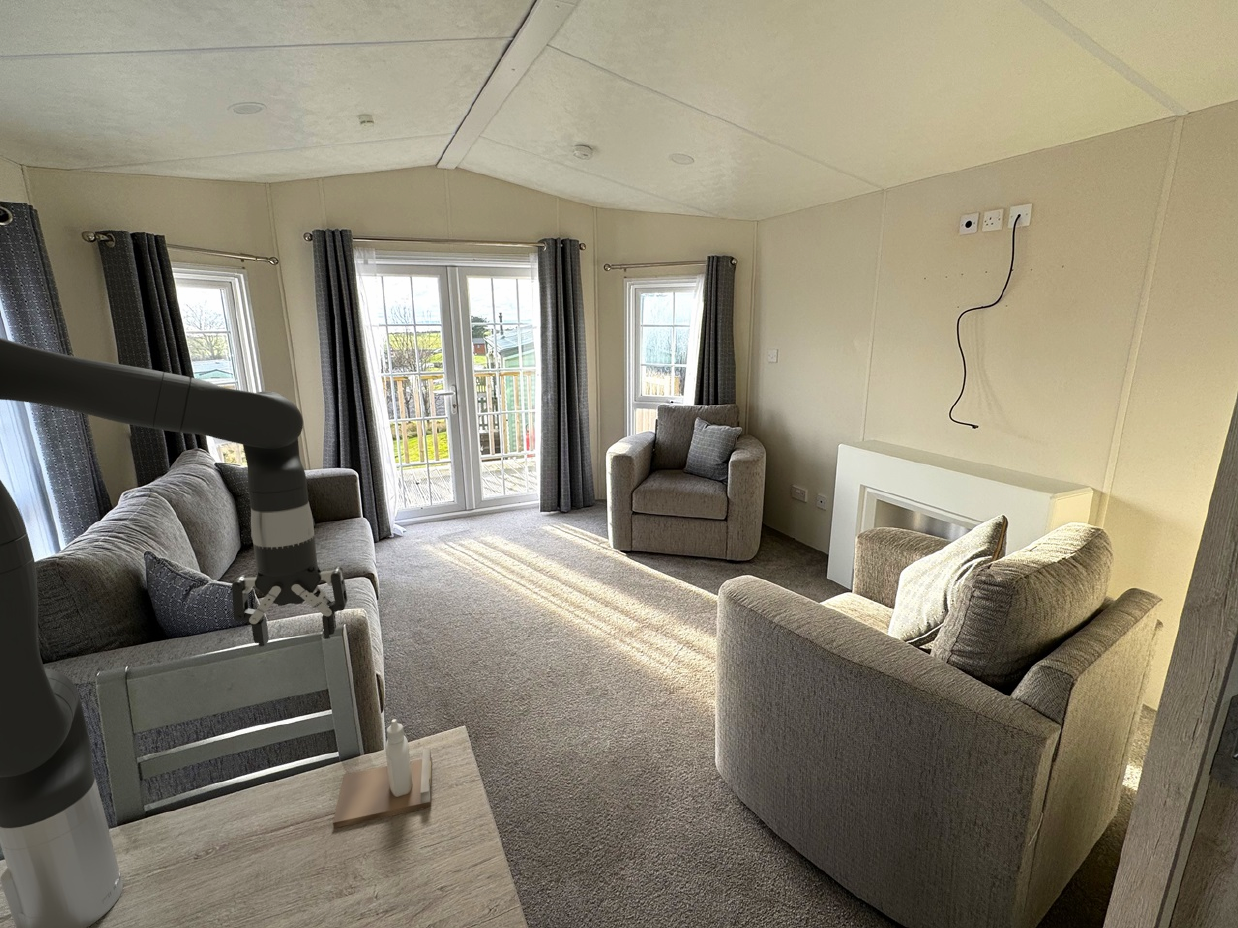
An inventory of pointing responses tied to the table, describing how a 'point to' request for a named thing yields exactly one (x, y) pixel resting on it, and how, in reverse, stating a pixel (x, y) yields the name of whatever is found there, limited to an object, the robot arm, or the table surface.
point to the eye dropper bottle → (398, 760)
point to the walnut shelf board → (382, 793)
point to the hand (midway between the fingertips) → (296, 640)
